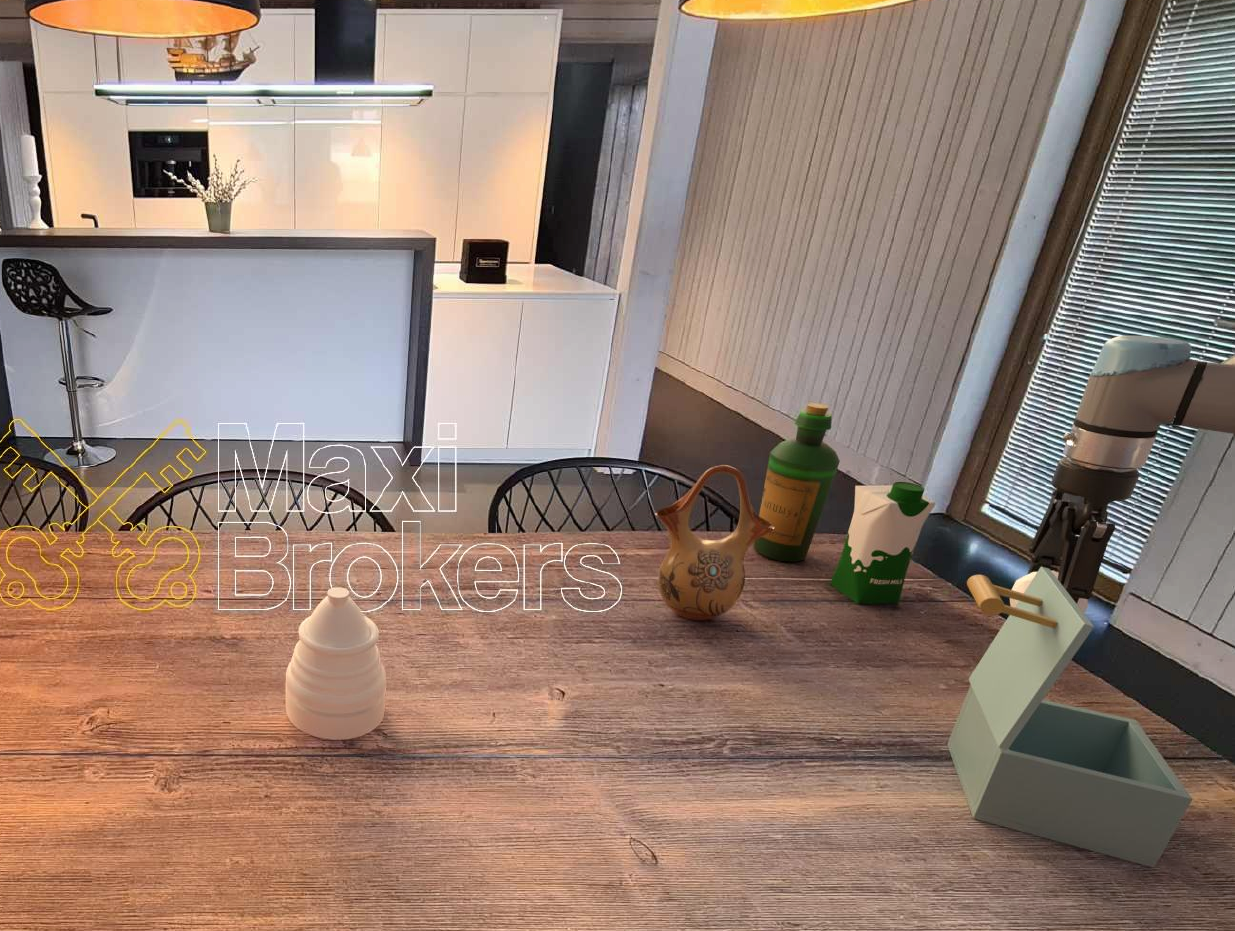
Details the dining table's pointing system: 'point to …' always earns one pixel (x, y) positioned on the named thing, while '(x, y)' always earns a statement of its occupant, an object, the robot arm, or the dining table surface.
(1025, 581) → the geometric ball
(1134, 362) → the robot arm
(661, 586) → the ceramic vessel
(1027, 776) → the compartment
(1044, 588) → the compartment door
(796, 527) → the bottle
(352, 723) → the honey pot
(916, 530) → the milk carton
